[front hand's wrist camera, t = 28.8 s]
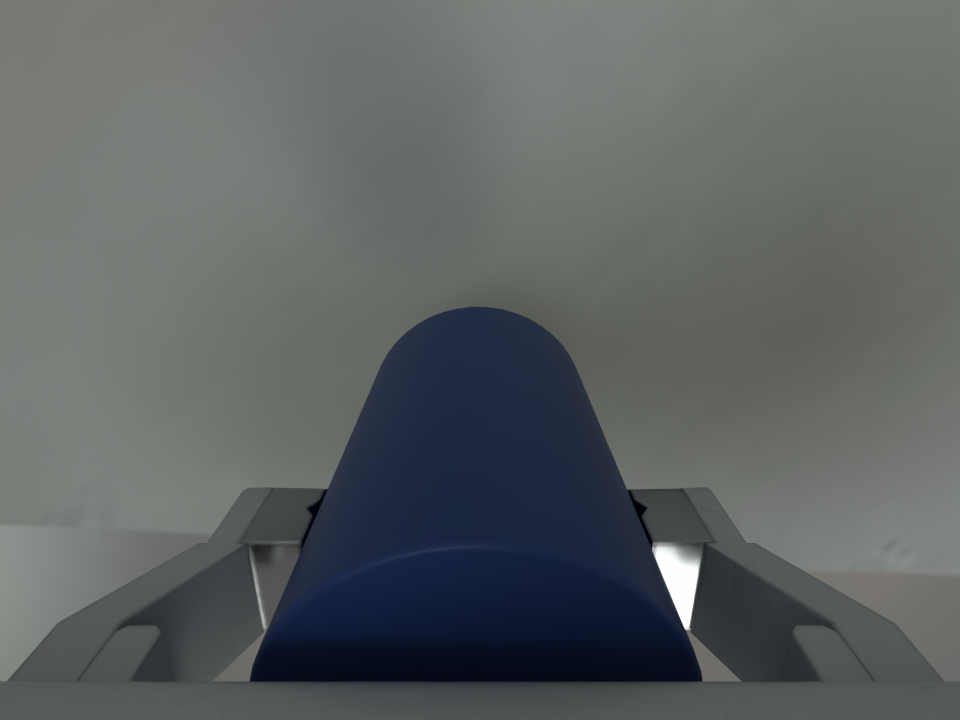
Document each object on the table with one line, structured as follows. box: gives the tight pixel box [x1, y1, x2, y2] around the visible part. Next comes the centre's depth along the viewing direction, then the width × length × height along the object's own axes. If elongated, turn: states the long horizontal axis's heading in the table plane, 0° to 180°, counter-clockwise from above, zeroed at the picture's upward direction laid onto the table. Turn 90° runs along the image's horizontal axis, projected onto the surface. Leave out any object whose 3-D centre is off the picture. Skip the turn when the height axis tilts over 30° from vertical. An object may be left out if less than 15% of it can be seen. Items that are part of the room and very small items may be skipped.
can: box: [250, 307, 703, 682], centre depth 11 cm, size 6×6×9 cm
